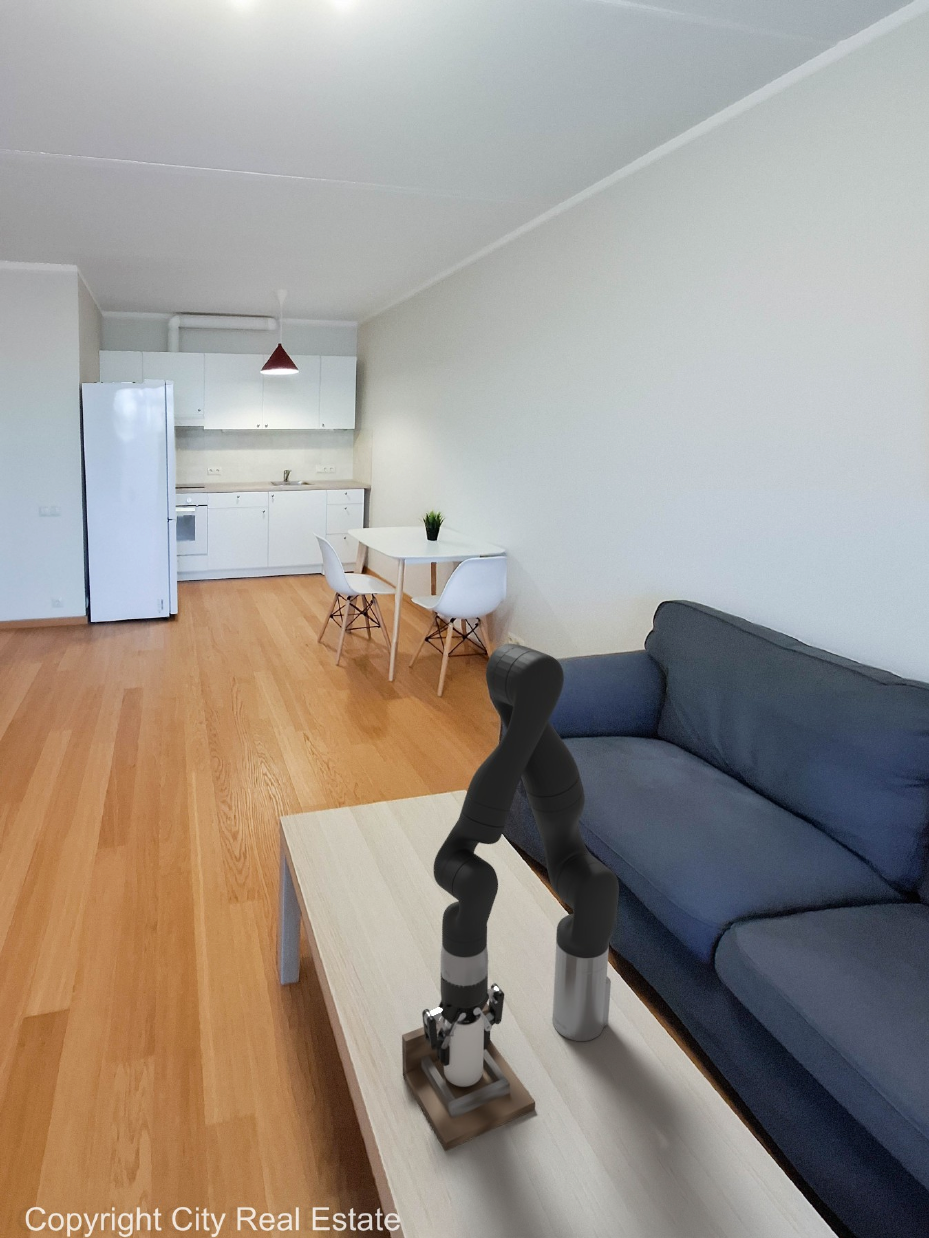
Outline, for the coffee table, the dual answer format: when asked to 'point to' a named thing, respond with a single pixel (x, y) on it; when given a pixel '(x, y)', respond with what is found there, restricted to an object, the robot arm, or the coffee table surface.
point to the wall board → (462, 1092)
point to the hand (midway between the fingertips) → (463, 1053)
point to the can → (466, 1052)
